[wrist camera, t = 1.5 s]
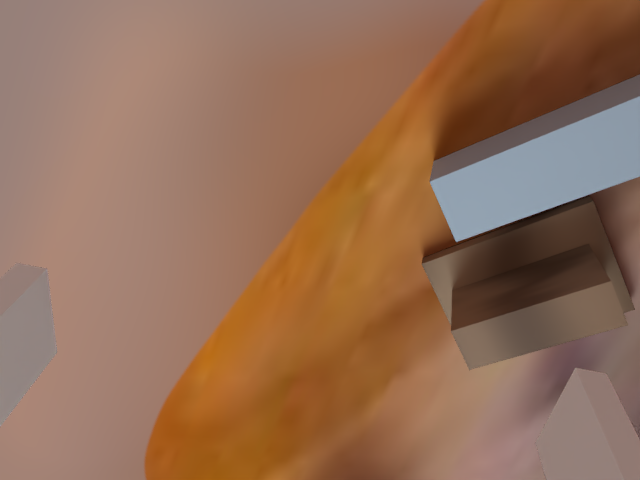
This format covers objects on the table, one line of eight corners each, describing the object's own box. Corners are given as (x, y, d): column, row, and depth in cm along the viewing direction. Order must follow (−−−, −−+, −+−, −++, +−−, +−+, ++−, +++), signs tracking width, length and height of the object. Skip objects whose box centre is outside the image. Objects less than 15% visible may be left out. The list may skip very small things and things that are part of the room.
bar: (433, 160, 32) (429, 181, 28) (700, 48, 27) (748, 51, 23) (456, 212, 33) (456, 242, 28) (719, 113, 28) (770, 129, 23)
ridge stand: (589, 195, 30) (617, 232, 25) (630, 301, 32) (665, 357, 27) (422, 257, 34) (415, 301, 29) (466, 350, 36) (467, 408, 30)
